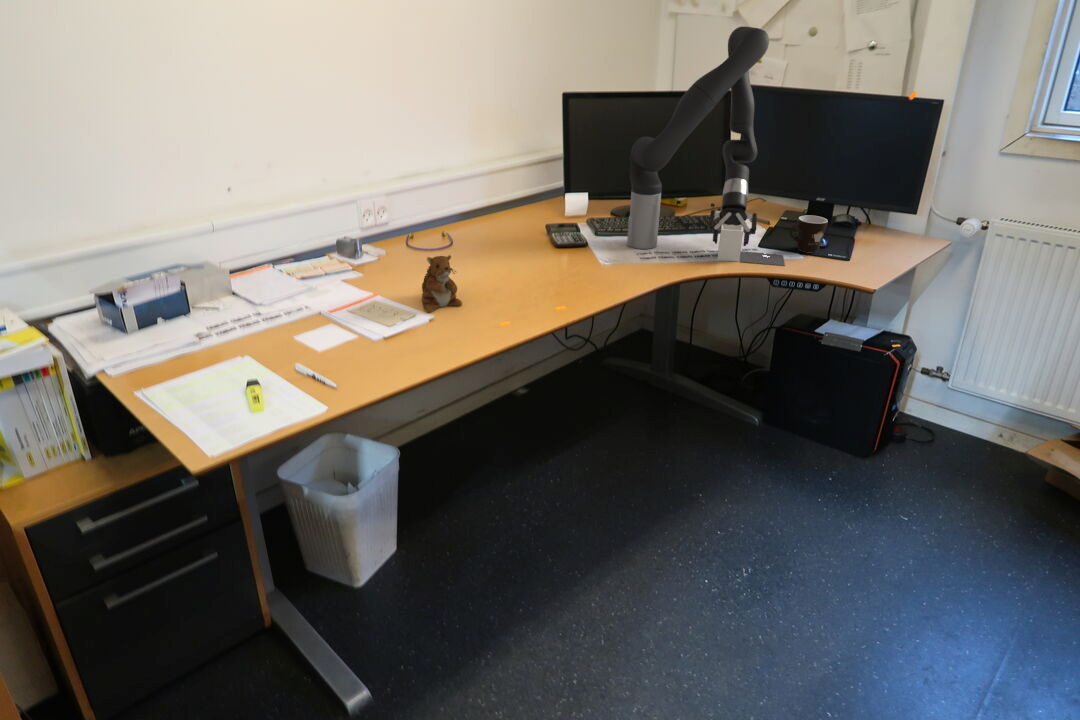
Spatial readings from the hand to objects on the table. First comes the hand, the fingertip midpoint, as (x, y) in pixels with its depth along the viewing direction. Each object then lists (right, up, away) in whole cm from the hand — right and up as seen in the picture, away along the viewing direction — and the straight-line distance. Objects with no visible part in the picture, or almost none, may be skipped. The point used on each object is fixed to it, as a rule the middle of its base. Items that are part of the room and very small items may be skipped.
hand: (730, 243), depth 225 cm
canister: (0, -4, +3) cm, 5 cm away
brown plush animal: (-84, -20, -30) cm, 92 cm away
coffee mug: (+26, -1, +10) cm, 28 cm away
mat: (+10, -4, +2) cm, 11 cm away
